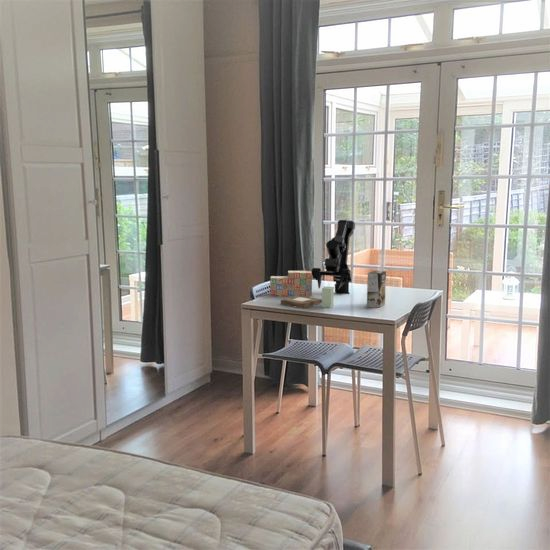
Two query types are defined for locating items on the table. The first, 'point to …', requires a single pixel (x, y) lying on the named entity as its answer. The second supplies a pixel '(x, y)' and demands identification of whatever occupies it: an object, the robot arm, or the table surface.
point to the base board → (301, 301)
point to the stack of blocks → (292, 284)
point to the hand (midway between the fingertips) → (328, 288)
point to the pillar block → (327, 296)
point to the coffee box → (376, 288)
